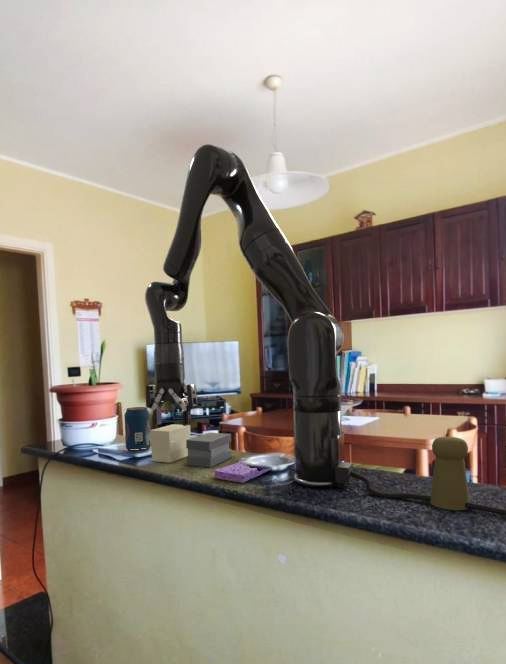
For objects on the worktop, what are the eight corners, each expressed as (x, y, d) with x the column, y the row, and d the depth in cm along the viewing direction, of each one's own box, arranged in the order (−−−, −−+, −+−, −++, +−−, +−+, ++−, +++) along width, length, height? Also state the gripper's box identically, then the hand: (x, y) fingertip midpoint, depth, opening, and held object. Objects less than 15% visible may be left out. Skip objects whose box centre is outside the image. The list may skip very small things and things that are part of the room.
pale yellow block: (190, 434, 113) (190, 425, 113) (169, 441, 104) (169, 431, 104) (172, 433, 116) (172, 424, 116) (150, 440, 107) (150, 430, 107)
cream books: (191, 454, 113) (191, 434, 113) (170, 463, 104) (169, 441, 104) (173, 452, 116) (172, 433, 116) (150, 461, 107) (149, 440, 107)
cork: (455, 512, 66) (455, 442, 66) (421, 501, 72) (421, 436, 71) (479, 505, 69) (479, 438, 68) (444, 495, 74) (444, 432, 74)
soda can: (125, 449, 123) (123, 407, 122) (150, 447, 124) (148, 406, 124) (126, 454, 116) (124, 410, 115) (152, 452, 118) (150, 408, 117)
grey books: (232, 457, 109) (231, 433, 108) (211, 467, 99) (210, 441, 98) (208, 455, 112) (207, 432, 112) (185, 465, 102) (184, 440, 102)
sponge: (214, 478, 89) (214, 470, 89) (246, 465, 100) (246, 457, 99) (242, 483, 85) (242, 474, 85) (273, 469, 95) (273, 461, 95)
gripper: (137, 363, 109) (140, 426, 110) (185, 361, 102) (188, 428, 103) (155, 362, 116) (158, 422, 116) (200, 360, 109) (203, 423, 110)
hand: (172, 424), depth 110 cm, fingers open, 8 cm apart
